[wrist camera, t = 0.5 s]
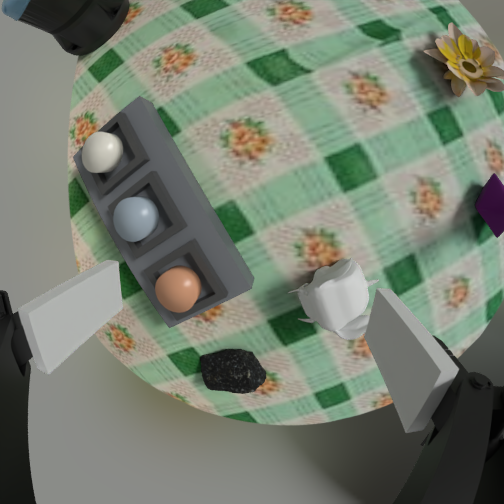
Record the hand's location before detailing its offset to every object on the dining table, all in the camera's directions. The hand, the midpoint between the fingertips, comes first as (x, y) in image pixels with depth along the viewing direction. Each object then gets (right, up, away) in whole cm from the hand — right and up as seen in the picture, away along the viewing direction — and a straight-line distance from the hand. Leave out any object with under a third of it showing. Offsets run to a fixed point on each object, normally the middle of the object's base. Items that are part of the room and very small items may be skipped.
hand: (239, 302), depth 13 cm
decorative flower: (+35, +34, +13) cm, 50 cm away
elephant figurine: (+12, -2, +25) cm, 28 cm away
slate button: (-13, +7, +19) cm, 24 cm away
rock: (-3, -17, +31) cm, 35 cm away
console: (-13, +8, +25) cm, 29 cm away
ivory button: (-18, +15, +17) cm, 29 cm away
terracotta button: (-8, -2, +21) cm, 22 cm away
